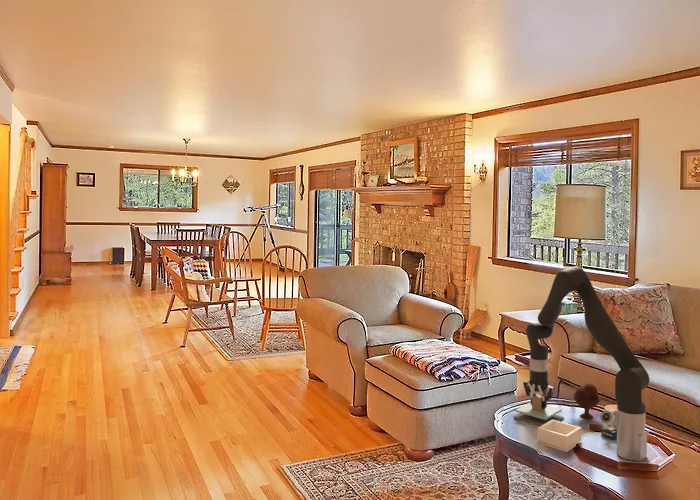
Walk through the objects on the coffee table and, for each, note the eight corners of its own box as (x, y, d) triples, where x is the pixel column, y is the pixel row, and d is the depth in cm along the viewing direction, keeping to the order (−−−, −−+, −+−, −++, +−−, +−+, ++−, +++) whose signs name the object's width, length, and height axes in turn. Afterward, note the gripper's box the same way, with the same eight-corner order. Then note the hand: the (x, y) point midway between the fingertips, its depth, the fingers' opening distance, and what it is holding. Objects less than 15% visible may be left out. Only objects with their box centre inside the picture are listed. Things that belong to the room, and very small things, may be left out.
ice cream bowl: (595, 412, 254) (595, 379, 253) (603, 422, 243) (604, 387, 242) (570, 412, 256) (570, 379, 254) (577, 421, 244) (578, 387, 243)
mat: (563, 419, 248) (563, 416, 248) (547, 428, 238) (547, 426, 238) (529, 410, 259) (529, 407, 259) (513, 418, 250) (513, 416, 250)
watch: (597, 436, 229) (598, 409, 228) (611, 432, 233) (612, 406, 232) (609, 441, 224) (610, 414, 223) (623, 437, 228) (624, 410, 227)
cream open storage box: (581, 442, 224) (581, 427, 223) (566, 452, 215) (567, 436, 215) (552, 433, 232) (552, 419, 232) (537, 442, 224) (537, 427, 224)
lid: (561, 413, 248) (561, 395, 247) (545, 422, 238) (545, 403, 238) (531, 405, 258) (531, 388, 258) (515, 413, 249) (515, 396, 248)
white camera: (633, 425, 240) (634, 403, 239) (630, 434, 231) (631, 411, 230) (605, 420, 245) (606, 399, 245) (601, 429, 236) (602, 406, 236)
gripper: (558, 369, 244) (558, 409, 246) (528, 363, 255) (528, 401, 256) (550, 373, 239) (549, 413, 240) (519, 367, 249) (519, 405, 251)
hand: (538, 407), depth 248 cm, fingers open, 4 cm apart
